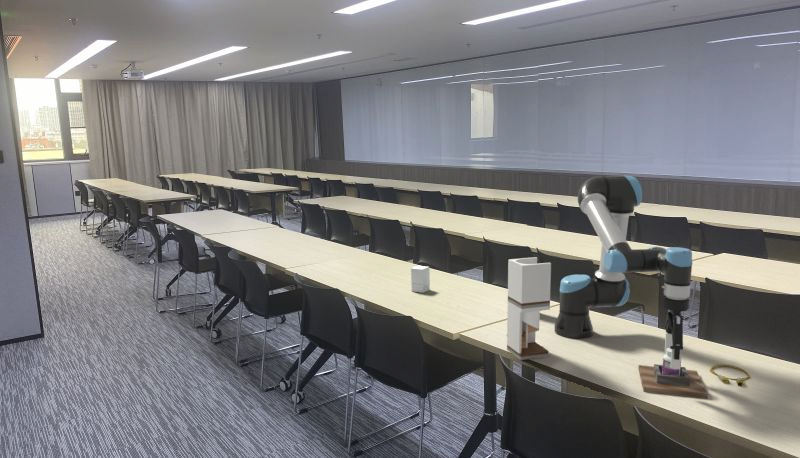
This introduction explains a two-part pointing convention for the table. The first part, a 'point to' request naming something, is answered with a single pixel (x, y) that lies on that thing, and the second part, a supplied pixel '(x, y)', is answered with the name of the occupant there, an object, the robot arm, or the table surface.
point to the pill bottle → (667, 363)
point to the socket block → (671, 382)
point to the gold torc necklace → (725, 380)
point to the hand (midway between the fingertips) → (672, 360)
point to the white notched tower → (526, 305)
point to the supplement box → (420, 279)
